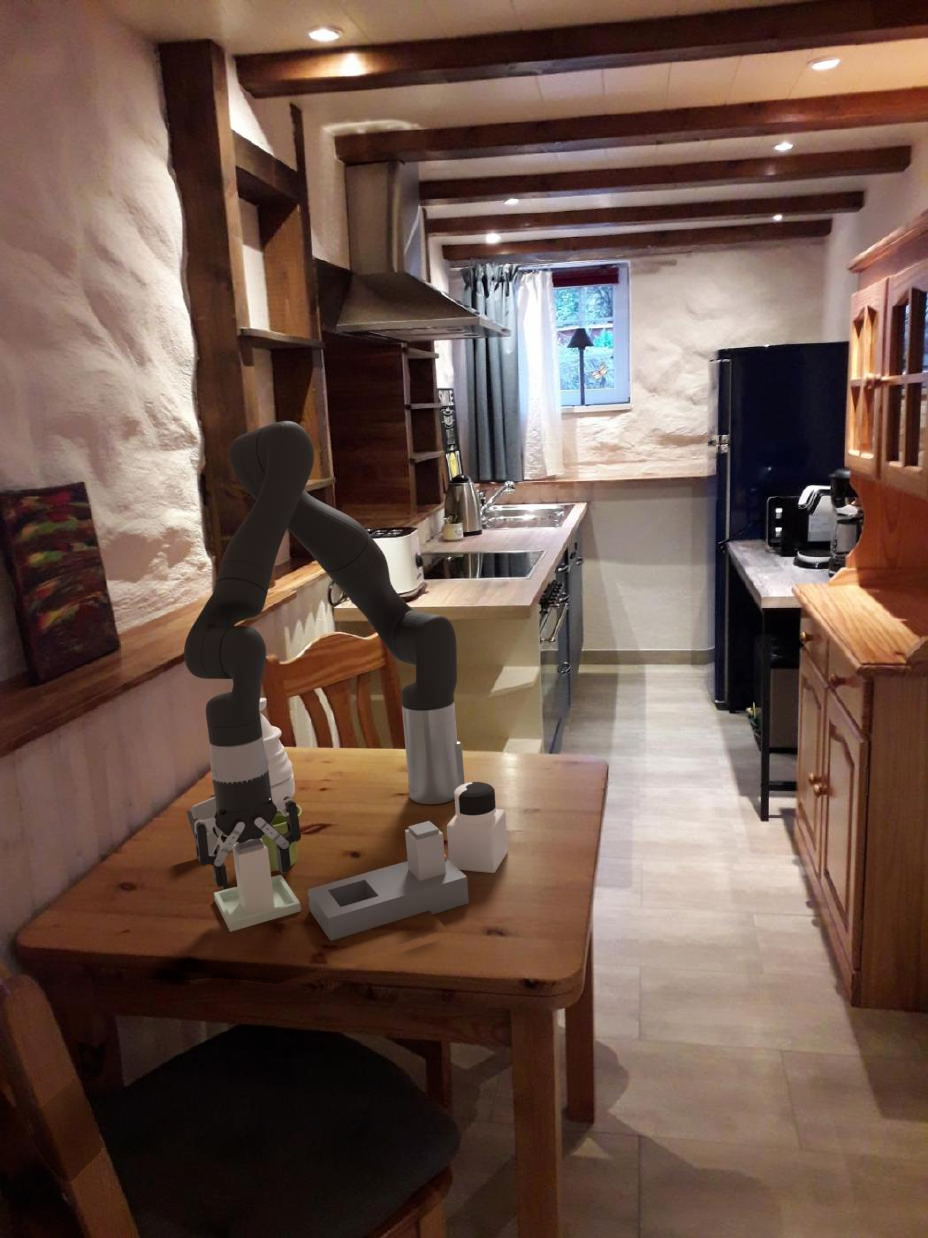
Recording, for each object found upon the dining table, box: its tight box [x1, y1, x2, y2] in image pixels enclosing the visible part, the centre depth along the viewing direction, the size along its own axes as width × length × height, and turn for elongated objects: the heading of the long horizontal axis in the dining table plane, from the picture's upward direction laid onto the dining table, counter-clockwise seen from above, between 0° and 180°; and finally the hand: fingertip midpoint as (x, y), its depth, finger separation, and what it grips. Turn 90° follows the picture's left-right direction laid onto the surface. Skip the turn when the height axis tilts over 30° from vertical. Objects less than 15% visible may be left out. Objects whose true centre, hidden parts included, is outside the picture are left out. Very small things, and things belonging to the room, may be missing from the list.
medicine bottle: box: [446, 781, 509, 874], centre depth 142 cm, size 7×7×12 cm
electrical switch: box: [186, 796, 233, 852], centre depth 153 cm, size 9×5×9 cm, turn 141°
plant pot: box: [261, 802, 303, 872], centre depth 145 cm, size 9×9×9 cm
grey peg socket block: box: [307, 820, 470, 942], centre depth 130 cm, size 20×9×11 cm, turn 116°
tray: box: [213, 874, 302, 933], centre depth 133 cm, size 10×10×2 cm
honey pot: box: [259, 697, 296, 803], centre depth 173 cm, size 13×13×18 cm
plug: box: [232, 838, 275, 916], centre depth 132 cm, size 4×4×10 cm
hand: (253, 879), depth 132 cm, fingers open, 8 cm apart
